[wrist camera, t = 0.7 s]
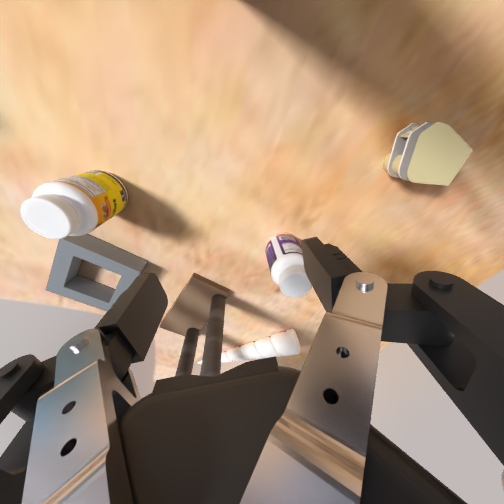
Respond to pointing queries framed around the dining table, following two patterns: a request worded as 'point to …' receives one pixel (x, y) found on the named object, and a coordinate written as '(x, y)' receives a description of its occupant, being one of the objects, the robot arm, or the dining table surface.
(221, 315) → the green-topped post stand
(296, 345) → the unicorn horn
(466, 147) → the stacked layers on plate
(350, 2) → the dining table surface
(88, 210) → the supplement bottle
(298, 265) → the pill bottle
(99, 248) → the socket
